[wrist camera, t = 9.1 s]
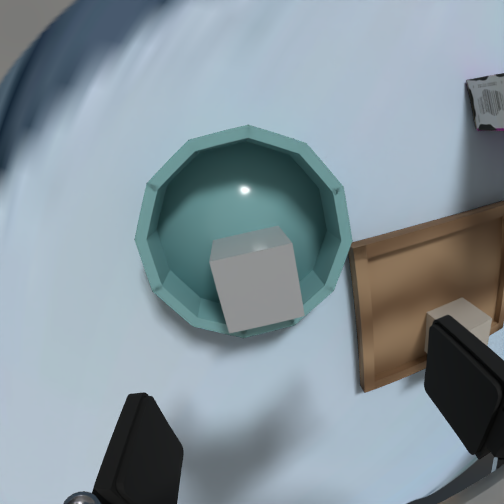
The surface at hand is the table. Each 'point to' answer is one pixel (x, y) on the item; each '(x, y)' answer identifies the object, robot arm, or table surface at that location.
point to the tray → (422, 286)
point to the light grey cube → (256, 278)
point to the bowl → (240, 218)
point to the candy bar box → (487, 102)
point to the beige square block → (462, 319)
